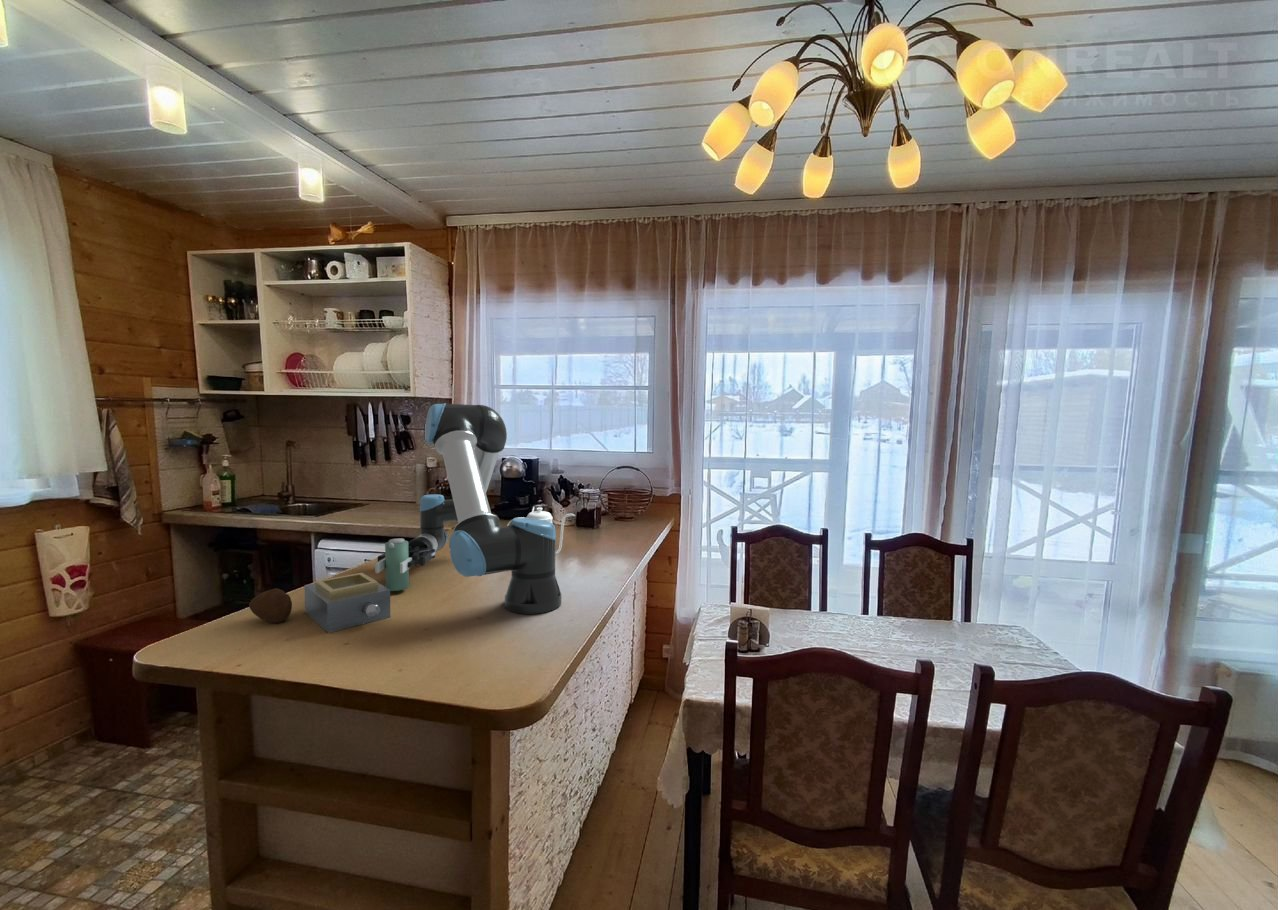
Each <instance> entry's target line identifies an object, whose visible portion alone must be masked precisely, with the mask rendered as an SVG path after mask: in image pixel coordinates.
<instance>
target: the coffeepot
mask: <svg viewBox="0 0 1278 910" xmlns="http://www.w3.org/2000/svg"><path fill="white" fill-rule="evenodd" d="M569 517H576V515H575V514H574V513H566V514H564V515H563V517H562V519H561V524H560V535H559V536H560V537H559V544H558V545H559V546H558V549H557V550H556V554H558V553H560V552H561V550H562V547H563V537H564V528H565V527H564V525H565V520H566V518H569ZM516 518H532V519H539V520H545V521H548V522H551V523H552V524H553V519H554V517H553V516H552V514H551V513H550V512H548V511H545V510H543V507H537V508H536V511H531V512H529V513H528V514H527V516H526V517H524V516H523V517H522V516H521V517H519V516H518V517H514V518H513V519H516ZM513 519H510V521H509V522H508V523H507V524H506V526H510V524H511V522H512V520H513Z"/></svg>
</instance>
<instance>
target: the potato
mask: <svg viewBox="0 0 1278 910" xmlns="http://www.w3.org/2000/svg"><path fill="white" fill-rule="evenodd" d="M291 598H292V597H291V596H290V595H289V594H288V593H286V592H285V591H284V590H282V589H280V588H277V587H276V588H272V589H268V590H265V591H262V592H260V593H259V594H258V595H256V596H254V597H253V598H252V599H251V600H250V602H249V604H248V607H249V609H250V611H251V613H253V614H254V616H256V617H258V618H259V619H261V620H263V621H267V622H269V623H272V624H273V623H275V624H276V623H277V624H279V623H282V622H284V621H285V620H287V619H288V618H289V616H290V615H291V612H292V608H293V602H292V599H291Z"/></svg>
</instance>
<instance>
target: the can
mask: <svg viewBox="0 0 1278 910" xmlns="http://www.w3.org/2000/svg"><path fill="white" fill-rule="evenodd" d="M408 542H409V541H408V540H405V538H402V537H401V538H399V537H398V538H391V539H388V541H387V542H385V544H384V549H385V550H384V551H385V552H384V553H385V569H384V570H385V587H386V588H388V589H390V592H394V591H395V592H397V591H403V590H407V589H408V588H409V587H410V586H409V585H410V576H409V573H410V572H409V571H410V569H408V570H407V571H405V572H404V573H400V563H402V562H403V561H405V560H406V559H408V558H409V556H408Z"/></svg>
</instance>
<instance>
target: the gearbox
mask: <svg viewBox="0 0 1278 910" xmlns="http://www.w3.org/2000/svg"><path fill="white" fill-rule="evenodd" d="M304 613H305V614H306V615H307V616H309V617H310V618H311V619H312V620H313V621H314V622H315V621H316V622H317V623H318V624H317V623H316V622H315V623H316V624H317V625H318V626H319V627H321V628H322V629H323V630H324V631H325V630H326V631H327V632H330V633H333V631H334V632H337V630H338V631H341V630H345V628H346V629H348V628H349V627H350V628H354V627H357V626H356V625H358V626H361V625H364V624H363V623H365V624H369V623H373V622H376V621H380V620H381V621H382V620H385V619H388V618H391V591H390V589H388V588H386V585H385V586H384V585H383V584H381V583H380V582H378V581H377V580H375V579H374V578H372V577H370V576H368V575H367V574H365V573H363V572H358V573H352V574H348V575H342V576H338V577H331V578H327V579H321V580H316V581H315V582H314V583H309V584H304ZM360 624H361V625H360ZM353 626H354V627H353ZM326 631H325V632H326ZM327 632H326V633H327Z"/></svg>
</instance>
